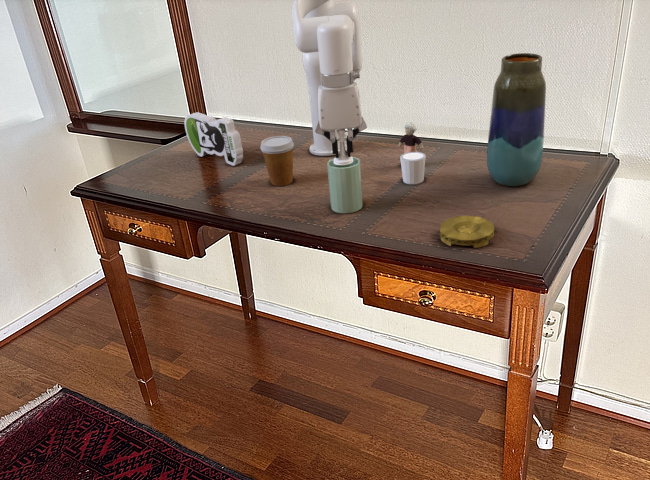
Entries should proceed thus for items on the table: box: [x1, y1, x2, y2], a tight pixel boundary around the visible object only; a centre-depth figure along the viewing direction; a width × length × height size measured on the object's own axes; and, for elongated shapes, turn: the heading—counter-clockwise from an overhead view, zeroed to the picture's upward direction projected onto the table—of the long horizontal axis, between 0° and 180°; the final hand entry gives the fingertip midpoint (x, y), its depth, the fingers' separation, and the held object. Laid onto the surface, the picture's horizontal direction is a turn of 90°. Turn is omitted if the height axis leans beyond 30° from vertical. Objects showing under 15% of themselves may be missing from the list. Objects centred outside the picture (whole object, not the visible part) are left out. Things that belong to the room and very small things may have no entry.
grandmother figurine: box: [398, 121, 424, 154], centre depth 179 cm, size 8×4×13 cm, turn 68°
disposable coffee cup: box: [259, 135, 295, 187], centre depth 178 cm, size 10×10×12 cm
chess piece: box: [334, 129, 353, 165], centre depth 154 cm, size 5×5×10 cm
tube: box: [326, 156, 364, 214], centre depth 160 cm, size 8×8×12 cm
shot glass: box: [399, 151, 427, 185], centre depth 171 cm, size 7×7×7 cm
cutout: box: [183, 111, 244, 166], centre depth 199 cm, size 15×3×25 cm
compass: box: [439, 215, 495, 249], centre depth 143 cm, size 12×12×2 cm
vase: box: [486, 52, 547, 187], centre depth 159 cm, size 14×14×31 cm
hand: (343, 155), depth 156 cm, fingers closed on chess piece
